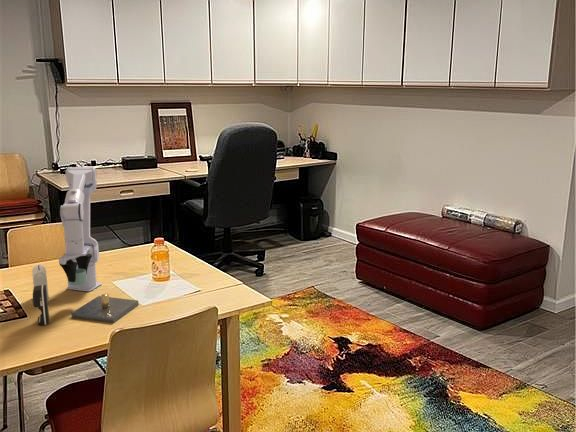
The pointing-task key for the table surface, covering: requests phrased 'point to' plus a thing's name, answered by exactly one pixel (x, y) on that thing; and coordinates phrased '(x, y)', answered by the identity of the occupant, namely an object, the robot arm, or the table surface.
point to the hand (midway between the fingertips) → (77, 278)
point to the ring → (79, 277)
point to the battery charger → (41, 303)
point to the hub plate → (105, 309)
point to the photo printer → (40, 277)
